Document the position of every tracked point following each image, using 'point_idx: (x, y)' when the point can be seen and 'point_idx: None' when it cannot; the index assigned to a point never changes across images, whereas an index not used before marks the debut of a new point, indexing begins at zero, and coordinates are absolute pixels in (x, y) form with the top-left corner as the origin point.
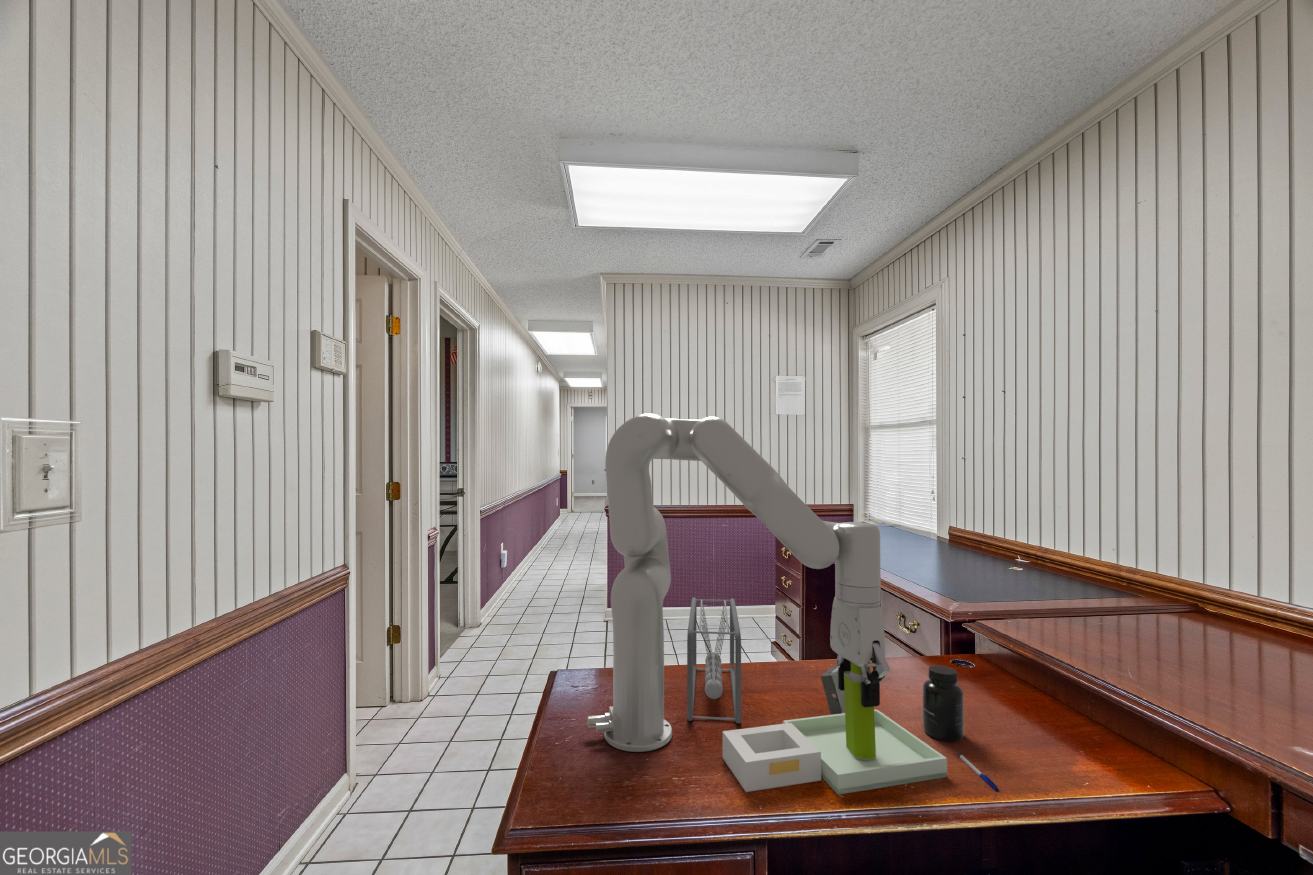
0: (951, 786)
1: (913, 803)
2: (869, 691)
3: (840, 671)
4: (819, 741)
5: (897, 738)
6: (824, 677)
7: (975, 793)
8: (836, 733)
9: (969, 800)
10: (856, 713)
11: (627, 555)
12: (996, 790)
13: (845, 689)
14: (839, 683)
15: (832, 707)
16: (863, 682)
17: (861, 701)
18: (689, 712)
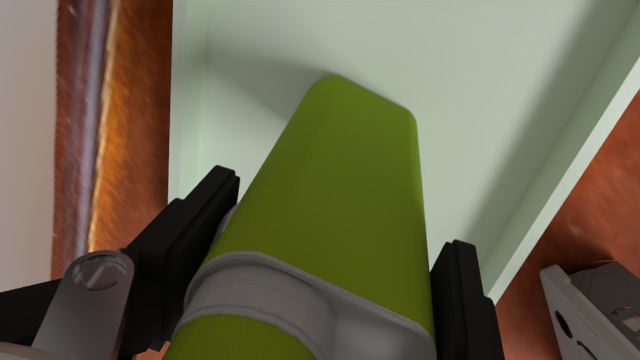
0: (158, 193)
1: (120, 45)
2: (145, 234)
3: (466, 337)
4: (503, 50)
5: None
6: None
7: (124, 209)
8: (498, 157)
9: (106, 175)
10: (289, 143)
11: None
12: (122, 249)
13: (399, 238)
14: (465, 264)
15: (621, 282)
16: (153, 263)
17: (223, 177)
18: None
